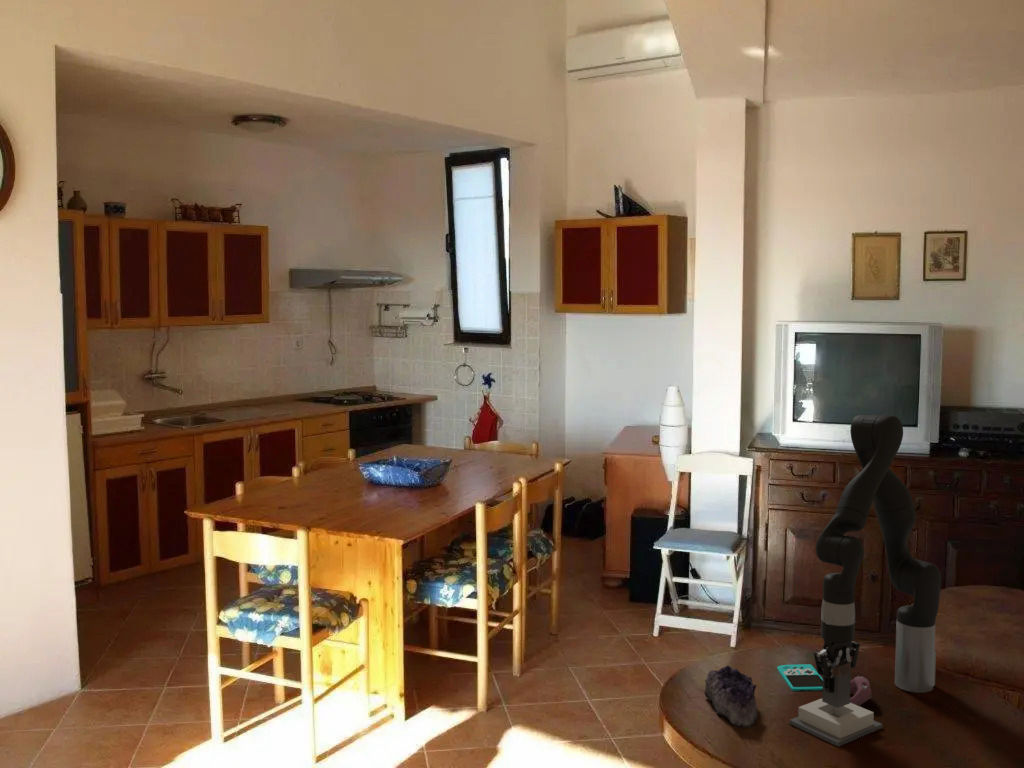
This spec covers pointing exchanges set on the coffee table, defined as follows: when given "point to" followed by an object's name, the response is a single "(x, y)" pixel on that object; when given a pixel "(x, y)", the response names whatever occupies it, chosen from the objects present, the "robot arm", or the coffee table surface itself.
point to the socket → (835, 722)
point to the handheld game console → (801, 677)
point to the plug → (839, 686)
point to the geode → (732, 696)
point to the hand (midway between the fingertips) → (836, 688)
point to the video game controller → (860, 690)
